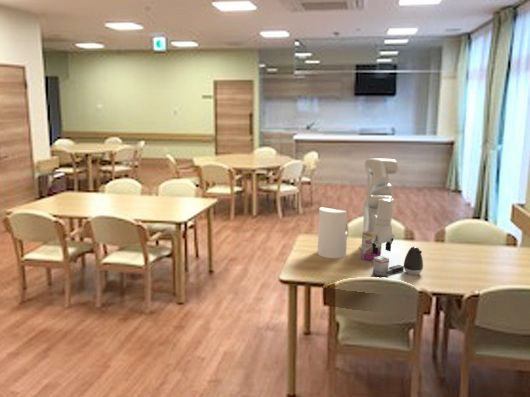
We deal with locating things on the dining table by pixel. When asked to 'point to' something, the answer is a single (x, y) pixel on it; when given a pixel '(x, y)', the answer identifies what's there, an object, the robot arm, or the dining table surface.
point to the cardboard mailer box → (380, 264)
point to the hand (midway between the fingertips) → (381, 252)
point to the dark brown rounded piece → (413, 261)
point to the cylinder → (332, 233)
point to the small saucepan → (389, 271)
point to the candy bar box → (368, 247)
